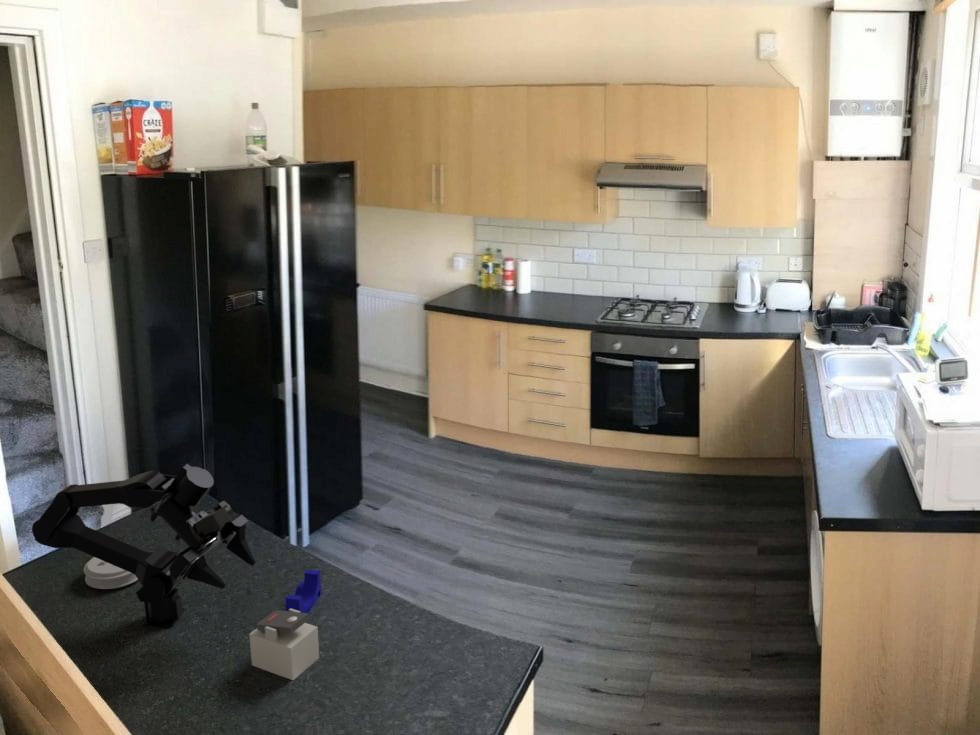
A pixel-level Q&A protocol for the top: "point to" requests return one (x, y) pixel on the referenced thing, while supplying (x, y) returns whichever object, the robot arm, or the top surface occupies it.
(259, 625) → the rocker
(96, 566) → the lid
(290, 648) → the switch box
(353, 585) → the top surface
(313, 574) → the blue notched block
